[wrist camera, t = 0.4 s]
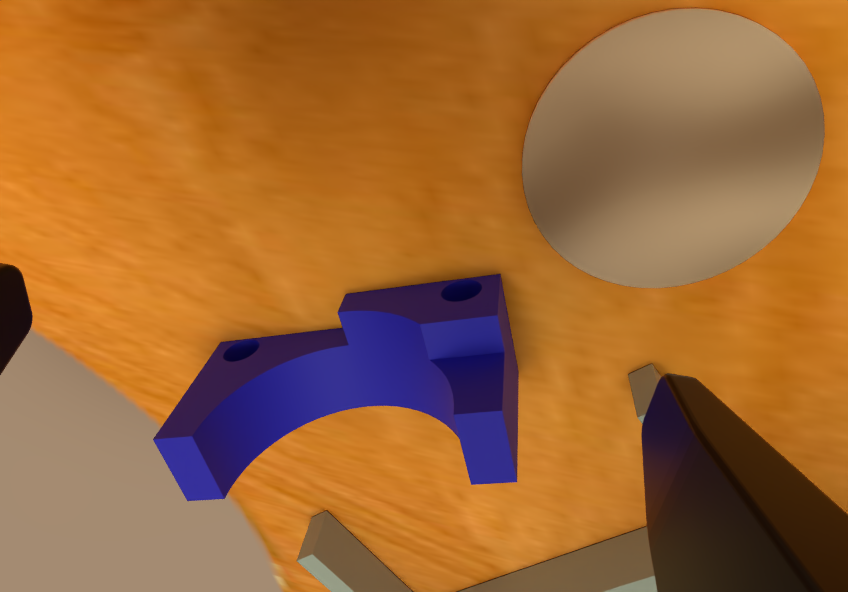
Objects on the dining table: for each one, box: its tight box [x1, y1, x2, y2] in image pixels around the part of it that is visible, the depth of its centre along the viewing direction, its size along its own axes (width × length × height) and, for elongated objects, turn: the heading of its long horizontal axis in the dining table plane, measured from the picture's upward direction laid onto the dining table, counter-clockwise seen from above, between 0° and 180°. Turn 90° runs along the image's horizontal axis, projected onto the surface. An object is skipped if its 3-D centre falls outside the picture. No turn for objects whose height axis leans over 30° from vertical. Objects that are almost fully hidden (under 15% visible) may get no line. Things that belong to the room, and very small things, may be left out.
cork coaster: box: [522, 8, 825, 288], centre depth 21 cm, size 9×9×1 cm
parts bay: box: [297, 364, 661, 592], centre depth 29 cm, size 9×18×2 cm, turn 127°
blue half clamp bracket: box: [153, 274, 518, 501], centre depth 24 cm, size 12×4×6 cm, turn 103°
